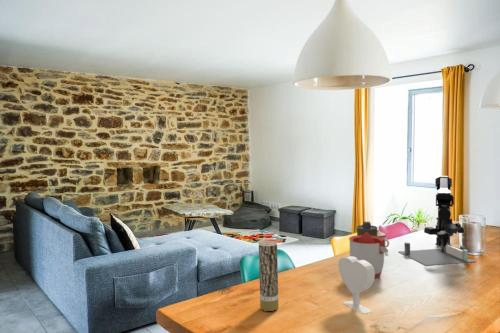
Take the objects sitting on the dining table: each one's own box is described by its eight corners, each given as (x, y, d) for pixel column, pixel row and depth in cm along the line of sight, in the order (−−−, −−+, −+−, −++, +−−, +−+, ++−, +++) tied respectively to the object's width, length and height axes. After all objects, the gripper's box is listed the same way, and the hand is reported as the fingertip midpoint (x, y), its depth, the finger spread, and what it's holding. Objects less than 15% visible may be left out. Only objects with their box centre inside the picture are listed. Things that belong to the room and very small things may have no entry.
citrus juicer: (381, 284, 172) (381, 238, 171) (343, 276, 183) (343, 233, 182) (393, 274, 185) (393, 231, 184) (357, 268, 195) (356, 227, 194)
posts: (448, 251, 221) (448, 239, 220) (466, 258, 207) (466, 245, 206) (404, 254, 217) (404, 242, 216) (419, 261, 203) (419, 249, 202)
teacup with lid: (365, 249, 228) (365, 229, 228) (375, 247, 234) (375, 227, 233) (383, 254, 219) (383, 232, 218) (393, 251, 224) (393, 230, 223)
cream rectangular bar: (443, 251, 217) (443, 242, 217) (446, 251, 217) (446, 242, 217) (464, 260, 200) (464, 250, 200) (467, 260, 200) (467, 250, 200)
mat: (443, 249, 226) (443, 248, 226) (475, 262, 200) (475, 261, 200) (398, 252, 221) (398, 251, 221) (426, 265, 196) (426, 265, 196)
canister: (380, 263, 203) (380, 223, 202) (359, 263, 203) (359, 224, 202) (374, 257, 213) (373, 219, 212) (354, 257, 214) (354, 220, 213)
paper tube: (267, 303, 154) (266, 239, 153) (282, 308, 150) (280, 241, 149) (256, 309, 149) (254, 243, 148) (271, 314, 145) (269, 245, 143)
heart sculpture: (376, 312, 144) (376, 263, 143) (366, 315, 141) (365, 265, 140) (347, 298, 157) (346, 253, 156) (337, 301, 155) (336, 255, 154)
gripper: (436, 220, 195) (436, 251, 196) (471, 218, 198) (471, 249, 198) (423, 216, 206) (423, 246, 207) (457, 214, 209) (457, 244, 210)
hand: (444, 246), depth 205 cm, fingers closed
